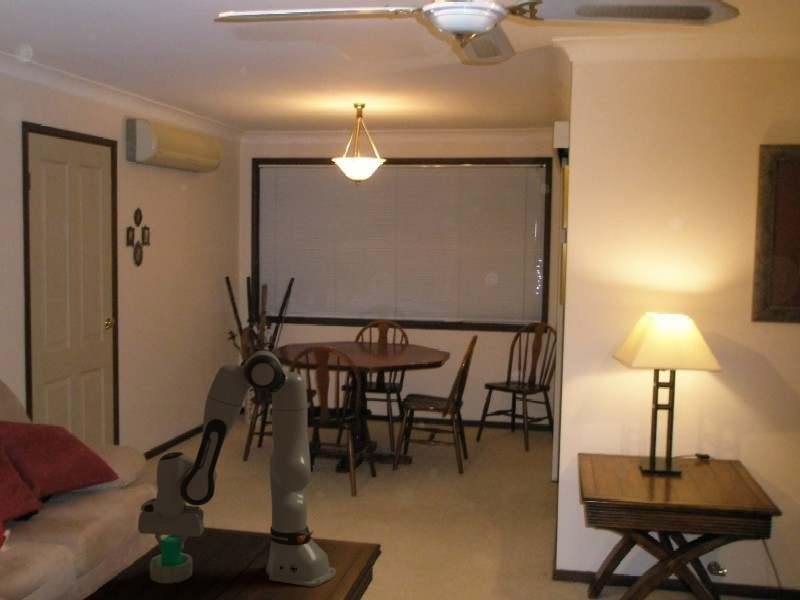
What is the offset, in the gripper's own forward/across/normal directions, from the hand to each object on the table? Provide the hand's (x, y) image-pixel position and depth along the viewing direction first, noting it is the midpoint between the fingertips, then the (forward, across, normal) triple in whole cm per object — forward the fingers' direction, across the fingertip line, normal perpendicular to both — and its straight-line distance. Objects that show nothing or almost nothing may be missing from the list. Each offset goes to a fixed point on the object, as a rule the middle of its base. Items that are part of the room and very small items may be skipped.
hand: (171, 548), depth 265 cm
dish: (+9, 0, 0) cm, 9 cm away
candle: (+8, 0, 0) cm, 8 cm away
